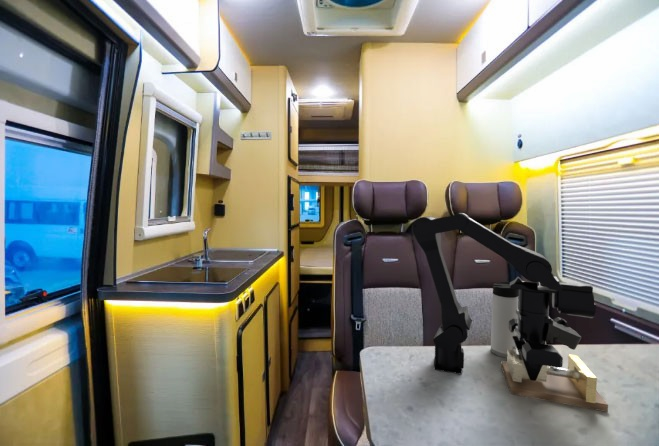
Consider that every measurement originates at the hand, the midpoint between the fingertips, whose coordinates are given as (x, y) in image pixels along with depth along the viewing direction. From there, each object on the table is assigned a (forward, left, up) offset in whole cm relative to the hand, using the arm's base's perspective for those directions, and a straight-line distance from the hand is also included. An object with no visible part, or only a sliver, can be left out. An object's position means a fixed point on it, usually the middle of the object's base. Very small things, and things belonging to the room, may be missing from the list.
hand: (530, 376), depth 70 cm
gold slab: (+9, 0, -1) cm, 9 cm away
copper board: (+4, +2, -2) cm, 5 cm away
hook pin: (+3, 0, 0) cm, 3 cm away
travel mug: (-3, +16, -3) cm, 16 cm away
